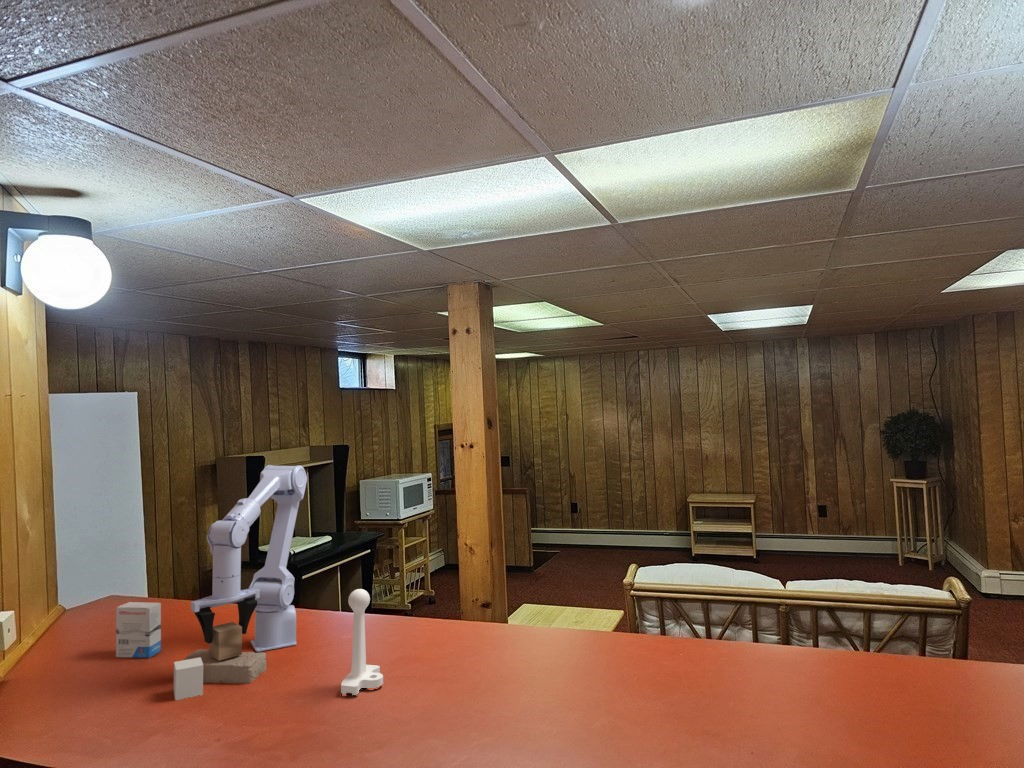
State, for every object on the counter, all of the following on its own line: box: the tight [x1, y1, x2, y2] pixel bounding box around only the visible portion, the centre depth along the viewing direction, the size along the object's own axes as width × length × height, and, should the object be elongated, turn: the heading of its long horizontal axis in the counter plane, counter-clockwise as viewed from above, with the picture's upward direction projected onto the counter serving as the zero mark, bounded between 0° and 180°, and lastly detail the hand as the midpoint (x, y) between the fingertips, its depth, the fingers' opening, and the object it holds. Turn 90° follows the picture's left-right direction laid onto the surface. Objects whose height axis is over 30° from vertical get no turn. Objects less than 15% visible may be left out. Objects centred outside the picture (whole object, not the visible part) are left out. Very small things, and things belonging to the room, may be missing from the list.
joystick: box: [340, 588, 384, 696], centre depth 137 cm, size 11×8×20 cm
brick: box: [183, 648, 268, 684], centre depth 143 cm, size 16×8×5 cm, turn 86°
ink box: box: [115, 601, 162, 659], centre depth 156 cm, size 9×5×12 cm, turn 84°
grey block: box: [172, 657, 204, 701], centre depth 134 cm, size 5×5×6 cm
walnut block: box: [208, 621, 243, 661], centre depth 144 cm, size 5×5×6 cm
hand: (225, 637), depth 145 cm, fingers open, 7 cm apart
